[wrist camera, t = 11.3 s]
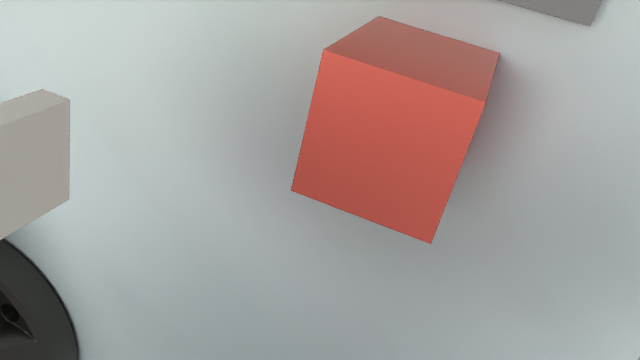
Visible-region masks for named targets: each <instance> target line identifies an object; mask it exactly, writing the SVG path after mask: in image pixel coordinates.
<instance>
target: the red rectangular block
mask: <svg viewBox="0 0 640 360" xmlns="http://www.w3.org/2000/svg"><path fill="white" fill-rule="evenodd" d="M499 54H500V53H497V52H494V51H491V50H488V49H484V48H481V47H478V46H475V45H471V44H468V43H465V42H461V41H458V40H455V39H452V38H448V37H445V36H442V35H439V34H435V33H432V32H429V31H425V30H422V29H419V28H416V27H412V26H409V25H406V24H402V23H399V22H396V21H393V20H389V19H386V18H383V17H380V16H379V17H377V18H375V19H374V20H372V21H370V22H369V23H367V24H365V25H364V26H362V27H360V28H359V29H357V30H355V31H354V32H352V33H350V34H349V35H347V36H345V37H344V38H342V39H340V40H339V41H337V42H336V43H334V44H332V45H331V46H329V47H327V48H326V49H324V50H323V53H322V58H321V62H320V67H319V71H318V75H317V80H316V84H315V88H314V93H313V97H312V101H311V106H310V110H309V114H308V119H307V123H306V127H305V132H304V136H303V140H302V145H301V149H300V154H299V158H298V162H297V167H296V171H295V175H294V180H293V184H292V188H291V191H293V192H296V193H299V194H301V195H304V196H307V197H309V198H312V199H314V200H317V201H320V202H322V203H325V204H328V205H330V206H333V207H335V208H338V209H341V210H343V211H346V212H349V213H351V214H354V215H356V216H359V217H362V218H364V219H367V220H369V221H372V222H375V223H377V224H380V225H383V226H385V227H388V228H390V229H393V230H396V231H398V232H401V233H404V234H406V235H409V236H411V237H414V238H417V239H419V240H422V241H425V242H427V243H430V244H431V243H432V240H433V237H434V235H435V232H436V230H437V227H438V225H439V222H440V219H441V217H442V214H443V212H444V209H445V207H446V204H447V201H448V199H449V196H450V194H451V191H452V189H453V186H454V183H455V181H456V178H457V176H458V173H459V171H460V168H461V165H462V163H463V160H464V158H465V155H466V153H467V150H468V147H469V145H470V142H471V140H472V137H473V135H474V132H475V129H476V127H477V124H478V122H479V119H480V117H481V114H482V111H483V109H484V106H485V104H486V101H487V97H488V93H489V90H490V86H491V83H492V79H493V75H494V72H495V68H496V65H497V61H498V58H499Z"/></svg>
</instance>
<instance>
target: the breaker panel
mask: <svg viewBox="0 0 640 360" xmlns="http://www.w3.org/2000/svg"><path fill="white" fill-rule="evenodd" d="M500 1H503V2H507V3H510V4H514V5H517V6H520V7H524V8H527V9H531V10H534V11H538V12H541V13H545V14H548V15H552V16H555V17H559V18H562V19H566V20H569V21H573V22H576V23H580V24H583V25H587V26H591V24H592V22H593V20H594V17H595V15H596V13H597V11H598V8H599V6H600V4H601V2H602V0H500Z"/></svg>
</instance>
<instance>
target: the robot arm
mask: <svg viewBox="0 0 640 360" xmlns="http://www.w3.org/2000/svg"><path fill="white" fill-rule="evenodd" d="M69 163H70V99H68V98H65V97H62V96H60V95H57V94H54V93H52V92H49V91H47V90H44V89H41V90H38V91H35V92H32V93H29V94H26V95H24V96H21V97H18V98H15V99H12V100H9V101H6V102H3V103H0V360H77V349H76V342H75V337H74V333H73V330H72V327H71V324H70V322H69V319H68V317H67V315H66V312H65V310H64V308H63V307H62V305H61V303H60V301H59V300H58V298H57V296H56V295H55V293H54V292H53V290H52V289H51V287H50V286H49V285H48V283H47V282H46V281H45V279H44V278H43V277H42V276H41V274H40V273H39V272H38V271H37V270H36V269H35V268H34V267H33V266H32V265H31V264H30V263H29V262H28V261H27V260H26V259H25V258H24V257H23V256H22V255H21V254H20V253H18V252H17V251H16V250H15V249H14V248H12V247H11V246H10V245H8V244H7V243H6V242H4V241H3V240H1V239H3V238H5V237H6V236H8V235H10V234H11V233H13V232H15V231H17V230H18V229H20V228H22V227H23V226H25V225H27V224H28V223H30V222H32V221H34V220H35V219H37V218H39V217H40V216H42V215H44V214H45V213H47V212H49V211H50V210H52V209H54V208H56V207H57V206H59V205H61V204H62V203H64V202H66V201H67V200H69ZM638 360H640V357H639V359H638Z"/></svg>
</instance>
